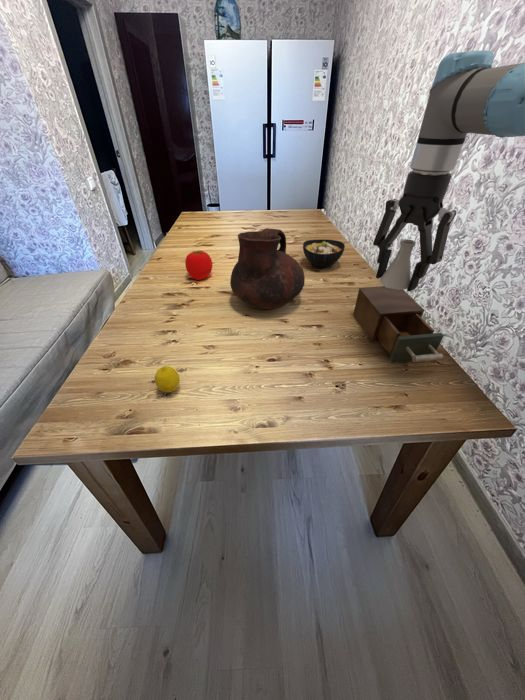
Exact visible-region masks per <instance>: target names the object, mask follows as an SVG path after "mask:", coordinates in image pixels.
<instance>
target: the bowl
mask: <svg viewBox="0 0 525 700" xmlns="http://www.w3.org/2000/svg"><path fill="white" fill-rule="evenodd" d="M345 249H346V245H345V243H343V242H342V241H341V240H337V239H336V240H335V239H308V240H305V241H303V243H302V251H303V254H304V257H305V258H306V259H307V261H308V262H309V263H310V265H311V267H312V268H315V269H317V270H327V269H330V268H331V267H332V266H333V264H335V263H337V262H338V261H339V260H340V259H341V258H342V256H343V254H344V252H345Z"/></svg>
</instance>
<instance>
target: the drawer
mask: <svg viewBox="0 0 525 700" xmlns="http://www.w3.org/2000/svg"><path fill="white" fill-rule="evenodd" d="M444 336H445V335H444V334H443V333H442V332H435V329H434V328H433V327H432V326H431V325H430V324H429V323H428V322H427V321H426V320H425V319H424V318H423V316H422V317H421V316H420V315H419V314H418V313H414V314H403V315H391V316H382V319H381V323H380V326H379V329H378V332H377V336H376V337H377V338H378V340H379V341H378V342H380V344H381V346H382V347H383V349H384V350H385V351H386V352H387V354H388V355H389V356H390V357H389V359H388V360H389V362H390V364H396V363H404V362H413V363H423V362H429V361H431V362H432V361H441V360H443V359H444V355H443V353H442V352H439V351H437V350H438V348H439V346H440V345H441V342H442V340H443V339H444Z"/></svg>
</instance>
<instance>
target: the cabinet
mask: <svg viewBox="0 0 525 700" xmlns="http://www.w3.org/2000/svg"><path fill="white" fill-rule="evenodd" d="M355 300H356V301H355V304H354V308H353V313H352V315H353V316H354V318H355V320H356V321H357V322H358V324H359V326H360V327H361V328H362V330H363V331H364V332H365V334H366V336H367V338H368V339H369V340H370V341H371V342H372V343H375V342H380V341H379V340H378V338H377V337H376V336H377V332H378V329H379V326H380V323H381V319H382V316H391V315H403V314H414V313H418V314H419V315H420V316H421V317H422V318H423V316H424V312H425V309H424V308H423V307H422V306H421V305H420V304H419V303H418V302H417V301H416V300H415V299H414V298H413V297H411V295H410V294H409V293H407V291H405V289H402V290H397V289H391V288H386V287H385V286H384V285H381V286H380V285H379V286H370V287H369V286H367V287H359V288H358V292H357V296H356V299H355Z"/></svg>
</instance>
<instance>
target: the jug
mask: <svg viewBox="0 0 525 700" xmlns="http://www.w3.org/2000/svg"><path fill="white" fill-rule="evenodd" d="M237 239H238V245H239V251H238V259H237V262H236V263H235V265H234V266H233V269H232V271H231V274H230V282H229V284H230V289H231V291H232V293H233V295H234V296H235V297H236V298H237V299H238V300H239V301H241V302H242V303H243V304H245V305H247V306H249V307H252V308H255V309H259V310H260V309H261V310H274V309H278V308H281V307H284V306H285V305H287V304H289V303H291V302H292V301H293V300H295V298H297V296H299V295H300V293H301V292H302V290H303V288H304V286H305V281H306V278H305V272H304V270H303V267H302V266H301V263H299V262H298V261H297V260H296V259H295V258H294V257H293V256H291V255H290V254H288V253H287V237H286V234H285V232H283V230H282V229H278V228H267V227H266V228H264V229H263V230H257V231H245V232H240V233H237ZM278 247H279V248H278Z"/></svg>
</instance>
